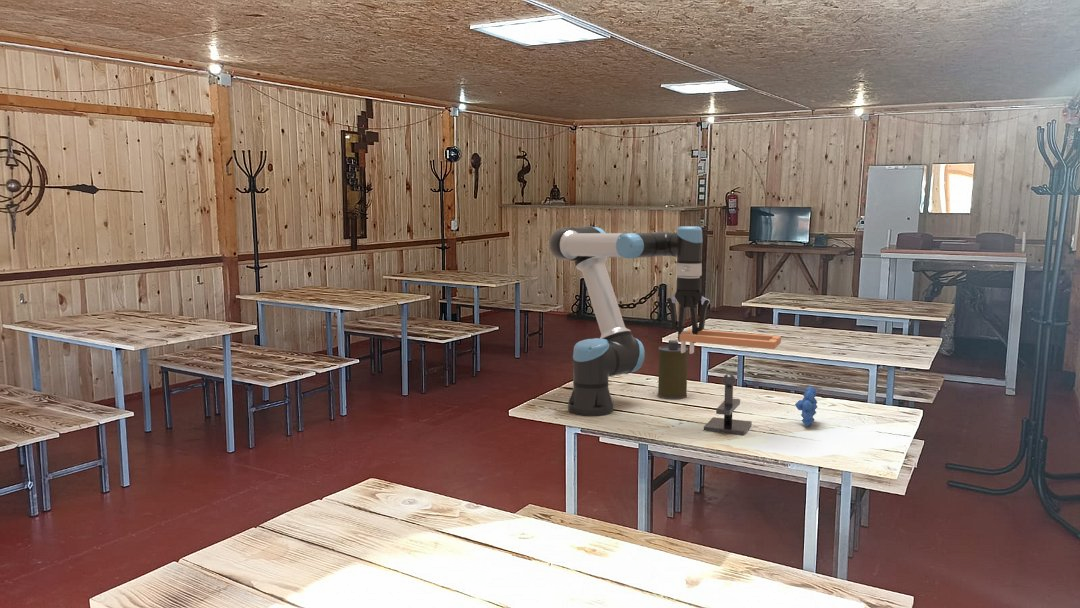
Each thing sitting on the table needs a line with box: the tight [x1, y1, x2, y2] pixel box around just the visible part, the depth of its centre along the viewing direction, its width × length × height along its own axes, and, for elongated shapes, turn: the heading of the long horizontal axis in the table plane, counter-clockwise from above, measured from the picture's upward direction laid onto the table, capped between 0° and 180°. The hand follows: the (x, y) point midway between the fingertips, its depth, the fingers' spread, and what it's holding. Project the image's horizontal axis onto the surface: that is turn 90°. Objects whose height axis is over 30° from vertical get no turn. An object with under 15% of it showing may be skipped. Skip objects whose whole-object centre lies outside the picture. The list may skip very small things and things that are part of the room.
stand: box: [703, 373, 753, 436], centre depth 241 cm, size 12×15×17 cm
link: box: [678, 328, 782, 350], centre depth 238 cm, size 28×12×2 cm, turn 64°
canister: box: [657, 339, 689, 400], centre depth 282 cm, size 11×10×20 cm
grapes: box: [794, 385, 818, 427], centre depth 245 cm, size 12×7×12 cm, turn 152°
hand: (687, 352), depth 245 cm, fingers closed on link, 2 cm apart
